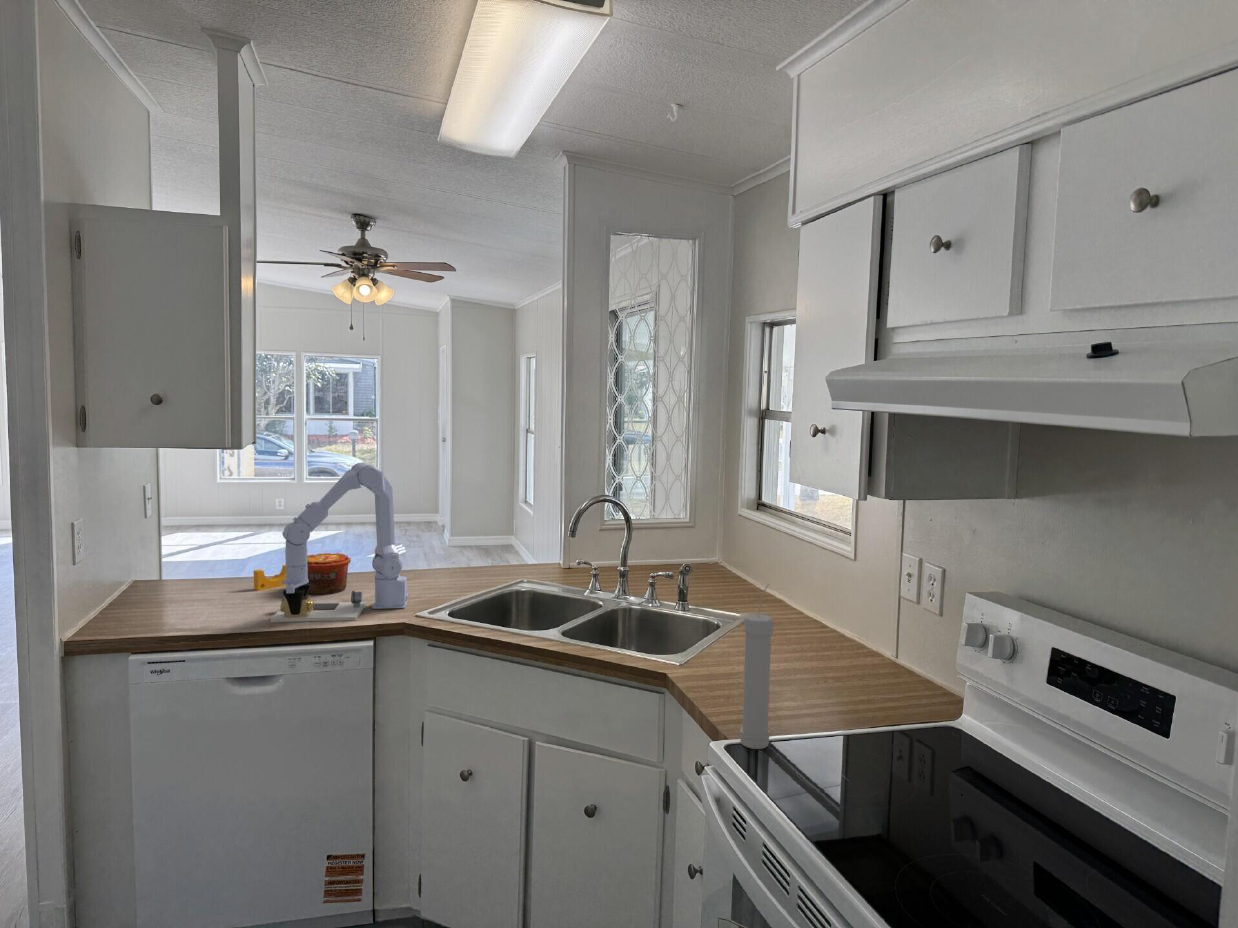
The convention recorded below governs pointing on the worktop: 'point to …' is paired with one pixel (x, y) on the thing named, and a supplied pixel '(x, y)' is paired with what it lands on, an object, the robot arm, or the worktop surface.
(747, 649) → the grey piece
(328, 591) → the food container
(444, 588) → the worktop surface
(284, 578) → the pipe clamp
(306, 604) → the brass valve
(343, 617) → the pipe board
